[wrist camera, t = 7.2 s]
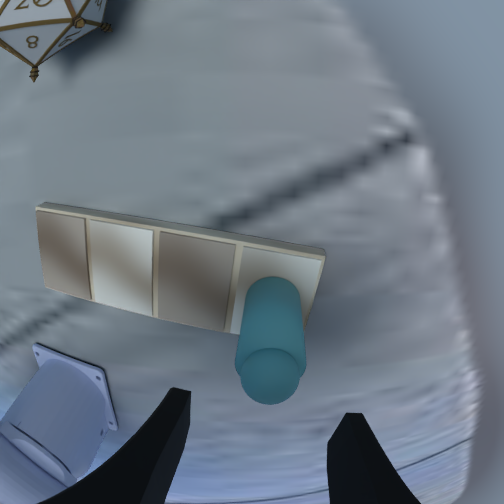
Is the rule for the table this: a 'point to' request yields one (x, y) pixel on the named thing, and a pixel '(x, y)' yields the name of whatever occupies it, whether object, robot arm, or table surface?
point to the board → (166, 265)
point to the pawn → (271, 341)
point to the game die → (47, 26)
